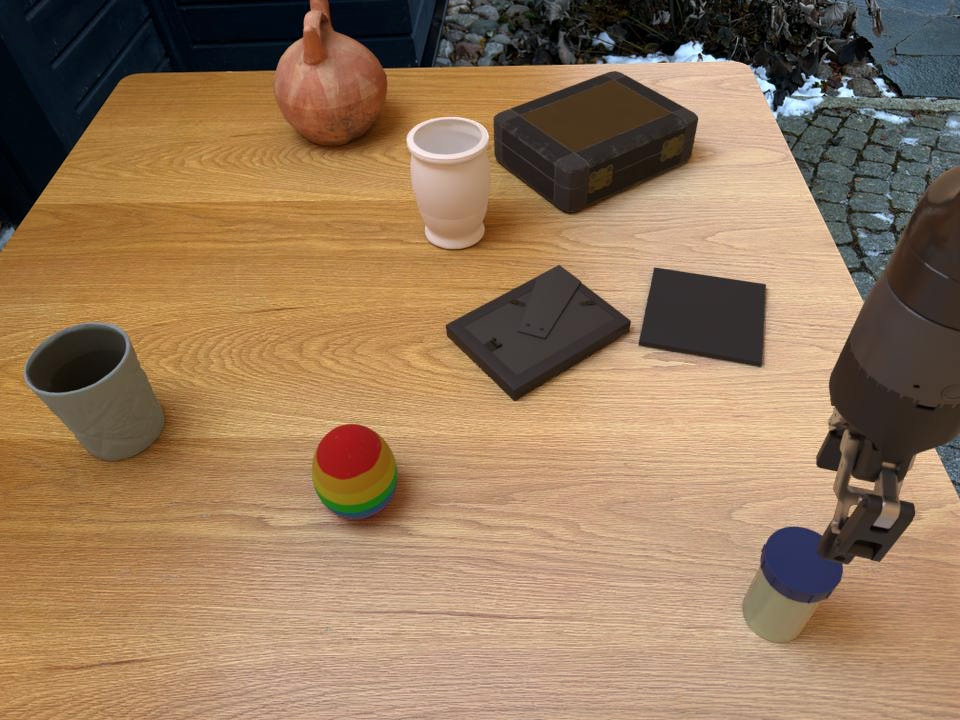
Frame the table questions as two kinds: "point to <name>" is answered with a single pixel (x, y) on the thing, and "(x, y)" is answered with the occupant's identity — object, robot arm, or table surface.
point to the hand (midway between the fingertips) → (831, 509)
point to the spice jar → (774, 611)
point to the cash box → (593, 139)
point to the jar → (450, 179)
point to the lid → (799, 565)
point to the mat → (705, 316)
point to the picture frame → (537, 331)
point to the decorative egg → (354, 471)
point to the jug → (329, 83)
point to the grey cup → (97, 389)
